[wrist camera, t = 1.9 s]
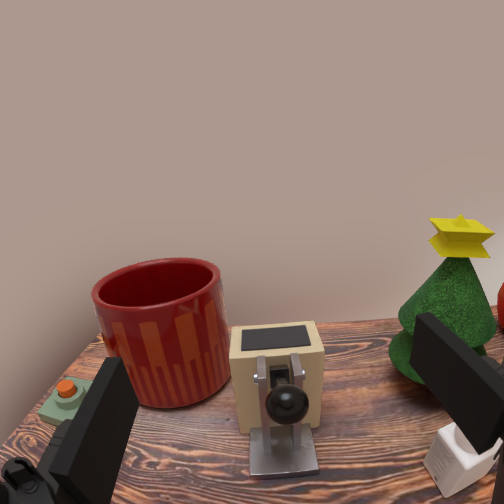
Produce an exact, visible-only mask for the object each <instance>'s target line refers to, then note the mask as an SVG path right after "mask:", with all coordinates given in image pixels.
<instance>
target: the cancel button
mask: <svg viewBox="0 0 504 504" xmlns="http://www.w3.org/2000/svg"><path fill="white" fill-rule="evenodd" d="M56 388H57V391H58V393H59V395H60V396H61V397H62V398H64V399H65V398H70V397H72V396H74V395H75V394H76V393H77V389H76V387H75V385H74V383H73V381H71V380H63V381H61V382H59V383H58V384H57V386H56Z"/></svg>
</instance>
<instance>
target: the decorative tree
mask: <svg viewBox="0 0 504 504" xmlns="http://www.w3.org/2000/svg"><path fill="white" fill-rule="evenodd" d="M429 219H430V221H431V222H432V224H433V225H434V226H435V228H436V229H437V231H438V234H436V235H435V236H433V237H432V238H431V239H430V240H429V242H430V243H431V244H432V246H433V247H434V248H435V250H436V251H437V252H438V254H439V255H440V256H441V257H447V258H446V259H445V260H444V262H443V263H442V264H441V265H440V266H439V267H438V269H436V271H435V272H434V273H433V274H432V275H431V276H430V277H429V278H428V280H427V281H426V282H425V283H424V284H423V285H422V286H421V287H420V288H419V289H418V290H417V291H416V292H415V293H414V294H413V296H411V298H410V299H409V300H408V301H407V302H406V303H405V304H404V305H403V306H402V307H401V308H400V310H399V313H398V317H399V321H400V323H401V325H402V326H403V327H404V330H402V331H401V332H400V333H399V334H397V335H396V336H395V337H394V338H393V339H392V341H391V343H390V345H389V356H390V359H391V361H392V363H393V364H394V366H395V367H396V368H397V369H398V370H399V371H400V372H401V373H403V374H404V375H405V376H407V377H409V378H410V379H412V380H414V382H415V384H416V385H417V386H418V387H419V388H421V389H423V390H426V391H430V389H429V388H428V387H427V385H426V384H425V383H424V382H423V380H422V379H421V378H420V377H419V375H418V374H417V373H416V372H415V370H414V369H413V368H412V367H411V365H410V364H409V360H410V354H411V348H412V341H413V334H414V327H415V319H416V315H418V314H422V313H426V312H430V313H432V314H433V315H434V316H435V317H436V318H437V319H439V320H440V321H441V322H442V323H443V324H444V325H446V326H447V327H448V328H449V329H450V330H451V331H452V332H454V333H455V334H456V335H457V336H458V337H459V338H460V339H462V340H463V341H464V342H465V343H466V344H467V345H468V346H469V347H470V348H472V349H473V350H474V351H475V352H476V353H477V354H478V355H479V356H480V357H481V356H484V355H486V356H487V353H486V351H485V348H484V346H483V344H485V343H487V342H488V341H489V340H491V339H492V338H493V336H494V335H495V333H496V329H497V326H496V322H495V319H494V316H493V313H492V311H491V308H490V306H489V303H488V300H487V298H486V296H485V293H484V291H483V288H482V286H481V283H480V281H479V279H478V277H477V274H476V272H475V270H474V268H473V266H472V263H471V261H470V259H469V257H475V258H490V256H489V255H488V253H487V252H486V250H485V248H484V247H483V245H482V244H481V243H482V242H484V241H485V240H487V239H488V238H489V237H491V236H492V235H494V234H495V233H494V232H493V231H491V230H490V229H488V228H487V227H485V226H484V225H482V224H481V223H479V222H477V221H476V220H465V219H464V217H463V216H462V214H461V215H459V216H458V217H457V218H456V219H443V218H429ZM430 392H431V391H430Z"/></svg>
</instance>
